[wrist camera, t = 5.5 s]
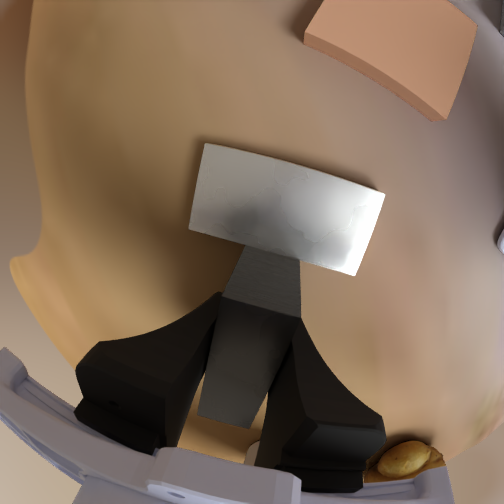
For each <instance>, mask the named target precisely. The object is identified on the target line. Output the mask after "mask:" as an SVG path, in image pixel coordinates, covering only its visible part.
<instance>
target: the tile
mask: <svg viewBox="0 0 504 504" xmlns="http://www.w3.org/2000/svg"><path fill="white" fill-rule="evenodd" d="M477 27H478V25H476V24H475V23H474V22H473V21H472V20H471V19H470V18H468V17H467V16H466V15H465V14H464V13H463V12H461V11H460V10H459V9H458V8H456V7H455V6H454V5H453V4H451V3H450V2H449V1H447V0H324V1H323V3H322V4H321V6H320V7H319V9H318V11H317V12H316V14H315V15H314V17H313V19H312V20H311V22H310V24H309V25H308V27H307V29H306V30H305V34H304V45H307V46H309V47H311V48H313V49H316V50H318V51H320V52H322V53H324V54H326V55H328V56H330V57H332V58H334V59H336V60H338V61H340V62H342V63H344V64H346V65H348V66H350V67H351V68H353V69H355V70H357V71H359V72H360V73H362V74H364V75H365V76H367V77H369V78H370V79H372V80H374V81H375V82H377V83H379V84H380V85H382V86H383V87H385V88H386V89H388V90H389V91H391V92H392V93H394V94H395V95H397V96H398V97H400V98H401V99H402V100H404V101H405V102H407V103H408V104H409V105H411V106H412V107H413V108H415V109H416V110H417V111H419V112H420V113H421V114H423V115H424V116H425V117H426V118H428V119H429V120H430V121H439V120H447V117H448V115H449V112H450V110H451V108H452V105H453V103H454V100H455V97H456V95H457V92H458V89H459V87H460V84H461V81H462V78H463V75H464V72H465V69H466V66H467V63H468V60H469V57H470V53H471V50H472V47H473V43H474V39H475V35H476V31H477Z"/></svg>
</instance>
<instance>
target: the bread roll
mask: <svg viewBox="0 0 504 504" xmlns="http://www.w3.org/2000/svg"><path fill="white" fill-rule="evenodd" d="M442 466H446V464H445V462H444V460H443V455H442V454H441V453H439V452H438V451H437V449H435V448H434V447H431V446H427V445H425V444H424V443H422V442H420V441H408V442H404V443H401V444H399V445H397V446H394V447H393V448H391V449H389V450H388V451H387V452H385V453H384V454H383V455H382V457H381V459H380V461H379V463H378V464H375V465H374V466H373V467H372V468H370V469H369V470H368V472H367V473H366V475H365V477H364V483H376V482H388V481H397V480H405V479H412V478H415V477H416V476H417V475H418V474H420V473H421V472H423V471H426V470H428V469H432V468H438V467H442Z"/></svg>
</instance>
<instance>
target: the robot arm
mask: <svg viewBox="0 0 504 504" xmlns="http://www.w3.org/2000/svg"><path fill="white" fill-rule="evenodd" d="M497 246H498V249H499V250H500V251H501V252H502V253H503V254H504V229H503V231H502V233H501V235H500V237H499V239H498V243H497ZM222 294H223V293H221V292H217V293H215V294H214V295H213V296H212V297H210V298H209V299H208V300H207V301H205V302H204V303H203V304H202V305H200V306H199V307H197V308H196V309H194V310H193V311H192V312H190V313H188V314H187V315H185V316H183V317H182V318H180V319H178V320H177V321H175V322H173V323H171V324H169V325H166V326H164V327H162V328H159V329H157V330H154V331H151V332H148V333H145V334H142V335H138V336H134V337H129V338H124V339H118V340H110V341H99V342H98V343H97V344H96V345H95V346H94V347H93V348H92V349H91V350H90V351H89V352H88V353H87V354H86V355H85V356H84V358H83V359H82V360H81V361H80V362H79V363H78V365H77V366H76V370H75V372H76V377H77V380H78V383H79V386H80V389H81V392H82V395H83V399H82V400H81V402H80V403H79V404H78V406H77V407H76V408H75V407H73V406H72V405H70V404H68V403H67V402H65V401H64V400H62V399H61V398H59V397H58V396H56V395H55V394H53V393H52V392H51V391H49V390H48V389H46V388H45V387H43V386H42V385H41V384H39V383H38V382H37V381H35V380H34V379H33V378H32V377H30V376H29V375H28V372H27V370H26V368H25V366H24V364H23V363H22V361H21V360H20V359H19V358H17V357H16V356H15V355H14V354H13V353H12V352H10V351H9V350H8V349H7V348H5V347H4V348H3V349H2V350H0V420H1V421H2V422H3V423H4V424H6V425H7V426H8V427H9V428H10V429H11V430H12V431H13V432H14V433H15V434H16V435H17V436H18V437H19V438H20V439H22V440H23V441H24V442H25V443H26V444H27V445H28V446H30V447H31V448H32V449H33V450H35V451H36V452H37V453H38V454H39V455H41V456H42V457H43V458H44V459H46V460H47V461H48V462H49V463H51V464H52V465H53V466H55V467H56V468H58V469H59V470H61V471H62V472H63V473H65V474H66V475H68V476H69V477H70V478H72V479H74V480H75V481H77V482H78V483H80V484H81V485H82V486H81V488H80V490H79V492H78V494H77V496H76V497H75V500H74V501H73V503H72V504H455V503H454V498H453V492H452V488H451V483H450V479H449V475H448V470H447V467H446V466H442V467H438V468H432V469H428V470H426V471H423V472H421V473H420V474H418V475H417V476H416V477H415V478H412V479H405V480H397V481H388V482H376V483H363V475H362V471H364V470H365V469H366V460H367V459H368V458H370V457H371V456H372V455H373V454H375V453H376V452H377V451H378V450H379V449H380V448H381V447H382V446H383V445H384V444H385V442H386V433H385V427H384V423H383V419H382V416H381V415H379V414H378V413H376V412H375V411H373V410H372V409H371V408H369V407H368V406H366V405H365V404H364V403H363V402H361V401H360V400H359V399H358V398H357V397H355V396H354V395H353V394H352V393H351V392H350V391H349V390H348V389H347V388H346V387H345V386H344V385H343V384H342V383H341V382H340V381H339V380H338V378H337V377H336V376H335V375H334V374H333V372H332V371H331V370H330V368H329V367H328V366H327V364H326V363H325V362H324V360H323V359H322V357H321V355H320V354H319V352H318V351H317V349H316V347H315V345H314V343H313V341H312V340H311V338H310V336H309V334H308V332H307V329H306V327H305V325H304V323H303V321H302V319H301V320H300V322H299V324H298V327H297V329H296V331H295V334H294V336H293V338H292V341H291V343H290V345H289V347H288V350H287V352H286V354H285V356H284V358H283V361H282V363H281V365H280V367H279V369H278V371H277V374H276V376H275V378H274V380H273V382H272V384H271V386H270V388H269V390H268V400H267V409H266V414H265V419H264V424H263V429H262V434H261V438H260V443H259V447H258V451H257V455H256V459H255V463H254V466H251V465H246V464H241V463H236V462H232V461H228V460H224V459H220V458H216V457H212V456H209V455H205V454H202V453H198V452H195V451H191V450H187V449H182V448H178V447H177V444H178V441H179V438H180V435H181V432H182V429H183V426H184V423H185V421H186V418H187V415H188V412H189V409H190V406H191V404H192V401H193V398H194V395H195V393H196V390H197V388H198V385H199V383H200V381H201V379H202V377H203V375H204V373H205V371H206V367H207V362H208V357H209V353H210V348H211V343H212V338H213V333H214V329H215V324H216V319H217V315H218V310H219V305H220V301H221V296H222Z"/></svg>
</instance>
